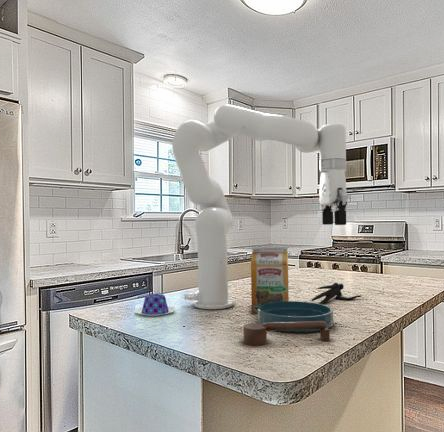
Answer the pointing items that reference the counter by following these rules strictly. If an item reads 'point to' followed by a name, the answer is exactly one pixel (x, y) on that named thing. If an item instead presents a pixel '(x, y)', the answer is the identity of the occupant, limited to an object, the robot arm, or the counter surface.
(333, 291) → the dark humanoid figurine
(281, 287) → the milk carton
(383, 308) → the counter surface
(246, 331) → the ladle
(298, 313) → the bowl
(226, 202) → the robot arm
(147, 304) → the pudding
